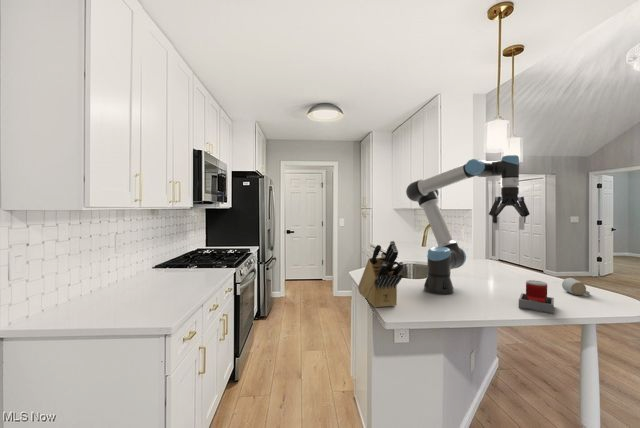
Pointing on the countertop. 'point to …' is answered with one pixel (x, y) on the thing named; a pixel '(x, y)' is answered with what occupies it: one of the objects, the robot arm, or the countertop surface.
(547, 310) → the tray
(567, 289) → the ceramic mug
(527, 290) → the canned food
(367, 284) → the knife block
